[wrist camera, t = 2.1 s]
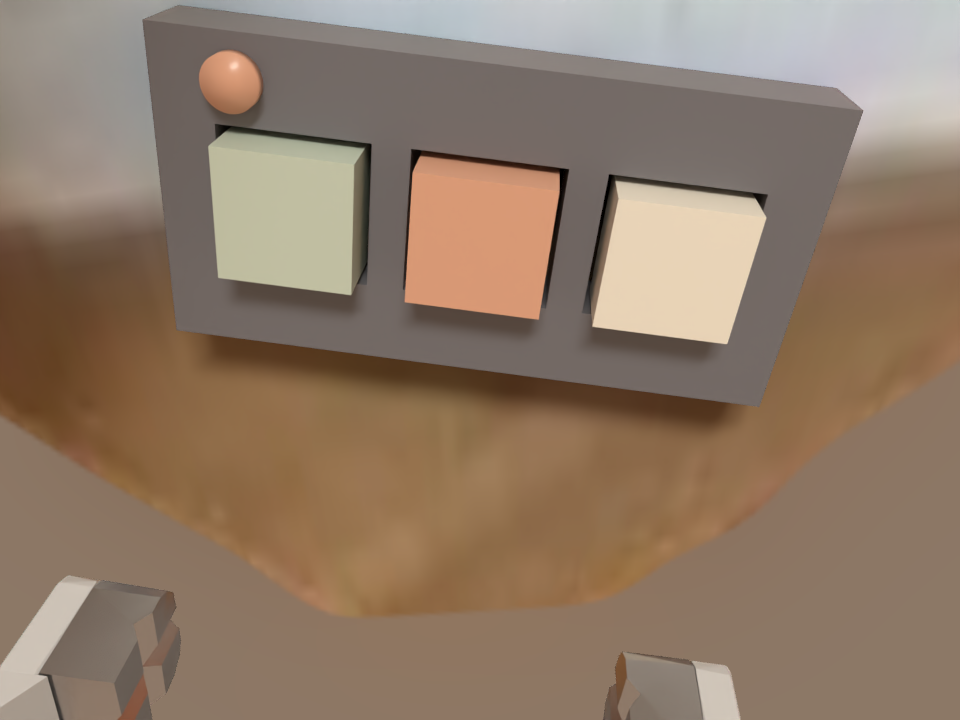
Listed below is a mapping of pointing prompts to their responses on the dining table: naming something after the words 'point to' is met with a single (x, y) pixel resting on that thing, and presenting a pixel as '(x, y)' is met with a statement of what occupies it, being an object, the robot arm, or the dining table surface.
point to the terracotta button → (480, 233)
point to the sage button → (290, 209)
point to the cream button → (674, 258)
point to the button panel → (501, 136)
